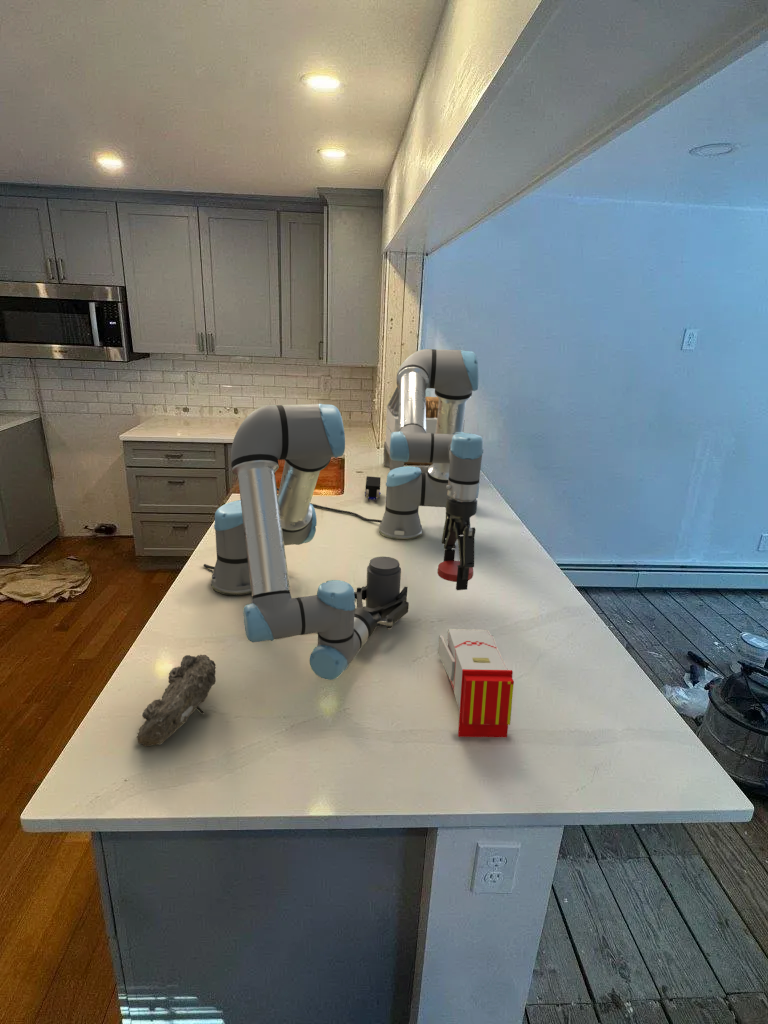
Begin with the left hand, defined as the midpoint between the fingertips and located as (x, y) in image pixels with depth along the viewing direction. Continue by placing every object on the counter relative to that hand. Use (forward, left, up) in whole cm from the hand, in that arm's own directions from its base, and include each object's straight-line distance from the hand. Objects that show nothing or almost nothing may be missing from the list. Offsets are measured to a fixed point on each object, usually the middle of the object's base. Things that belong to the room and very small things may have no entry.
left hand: (389, 587), depth 148 cm
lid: (+16, +5, +7) cm, 18 cm away
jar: (0, -5, -6) cm, 8 cm away
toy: (+28, -25, -6) cm, 38 cm away
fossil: (-22, -54, -6) cm, 59 cm away
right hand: (+16, +5, +3) cm, 17 cm away
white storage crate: (-32, +130, -6) cm, 134 cm away
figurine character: (-38, +83, -6) cm, 92 cm away
